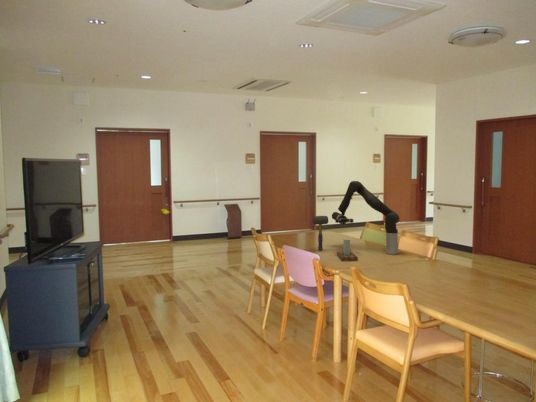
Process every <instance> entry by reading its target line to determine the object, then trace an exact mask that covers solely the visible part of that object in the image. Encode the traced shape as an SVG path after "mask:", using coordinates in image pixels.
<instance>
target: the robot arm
mask: <svg viewBox="0 0 536 402" xmlns="http://www.w3.org/2000/svg"><path fill="white" fill-rule="evenodd" d="M355 193H357V194H358V195H360V197H362V198H363V200H364V201H365V202H366V204H367V205H368V206H370V208H372V209H373V210H375V211H376V212H379V213H381V214H382V215H383V216H384V217H385V218H384V229H385V254H387V255H398V254H399V242H398V239H399V236H398V235H399V234H398V233H399V231H398V228H397V224H398V223H399V222H400V215H399V214H398V213H397V212H396V211H394V210H392V209H391V208H390V207H388V206H387V205H386V204H385V203H384V202H383V201H381V200H380V199H379V198H378V197H377V196H375V195H374V194H373V193H372V192H371V191H369V190H368V189H367V187H365V186H364V185H363V184H362V182H360V181H358V180H352V181H350V182H349V184H348V186H347V189H346V191H345V194H344V197H343V199H342V201H341V202H340V204H339V206H338V208H337V210H338V211H339V212H337V211H333V212H332V214H331V218H332V220H334V221H335V223H337V224H338V223H339V224H340V225H345V224H349V223H350V224H352V223H354V218H349V217H347V216H346V212H347V209H348V208H349V206H350V204H351V199H352V198H353V196H354V194H355Z"/></svg>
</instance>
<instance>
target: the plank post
mask: <svg viewBox="0 0 536 402" xmlns="http://www.w3.org/2000/svg"><path fill="white" fill-rule="evenodd" d="M350 251H351V239H350V238H343V252H344V255H350Z"/></svg>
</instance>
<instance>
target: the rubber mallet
mask: <svg viewBox="0 0 536 402" xmlns="http://www.w3.org/2000/svg"><path fill="white" fill-rule="evenodd" d="M328 223H329V217H328V216H327V215H317V216H316V215H315V216H312V225H318V235H317V237H318V238H317V241H318V247H317V250H318V251H319V252H321V251H323V249H324V248H323V240H324V239H323V238H324V237H323V225H328Z"/></svg>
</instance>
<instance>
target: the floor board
mask: <svg viewBox="0 0 536 402" xmlns="http://www.w3.org/2000/svg"><path fill="white" fill-rule="evenodd" d="M336 257H337V258H338V259H339V260H340V261H341V262H358V260H359V259H358V256H357V255H356V254H355V253H354V252H353V251H351V250H350V255H344V251H336Z"/></svg>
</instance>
